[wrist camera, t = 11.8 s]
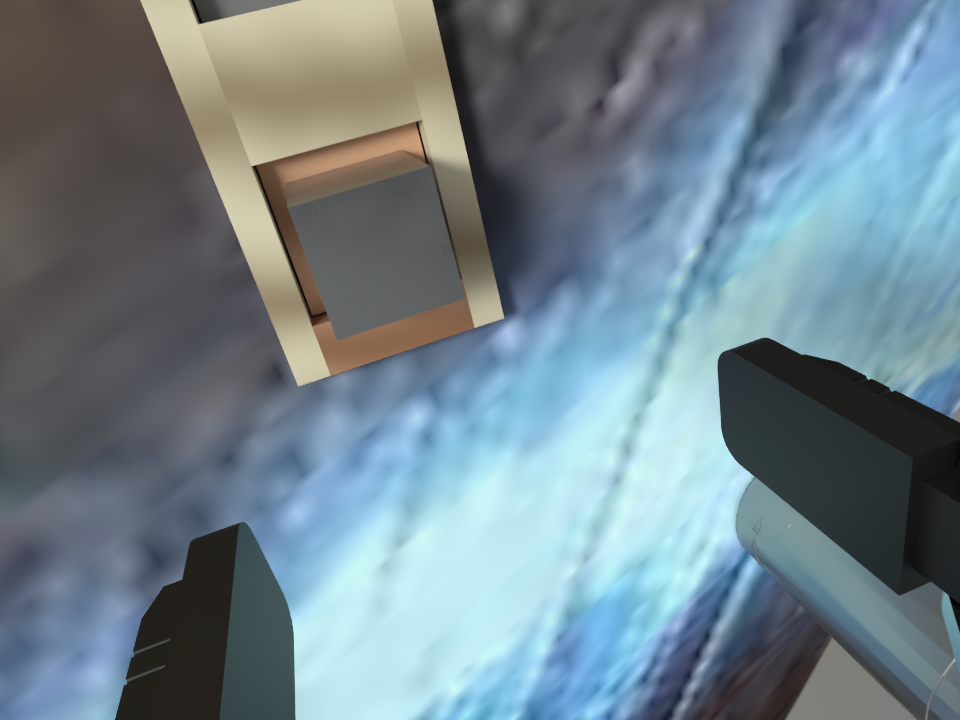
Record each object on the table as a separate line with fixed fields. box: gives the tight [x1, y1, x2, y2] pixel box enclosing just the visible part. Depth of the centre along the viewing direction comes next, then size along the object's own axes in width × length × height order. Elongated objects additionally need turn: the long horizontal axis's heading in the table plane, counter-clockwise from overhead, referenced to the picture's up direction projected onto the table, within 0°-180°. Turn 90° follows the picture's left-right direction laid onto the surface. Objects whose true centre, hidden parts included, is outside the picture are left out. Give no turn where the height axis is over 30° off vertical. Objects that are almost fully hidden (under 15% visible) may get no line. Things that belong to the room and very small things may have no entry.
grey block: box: [286, 150, 465, 341], centre depth 25 cm, size 5×5×6 cm
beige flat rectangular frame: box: [141, 0, 504, 386], centre depth 25 cm, size 24×10×1 cm, turn 13°
